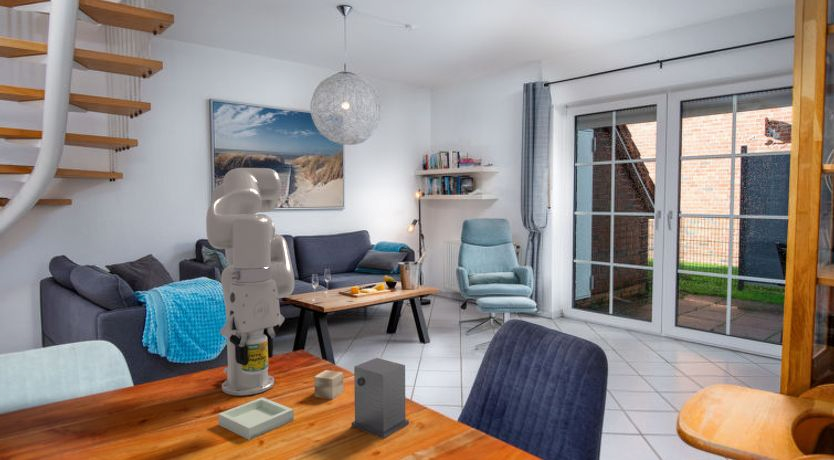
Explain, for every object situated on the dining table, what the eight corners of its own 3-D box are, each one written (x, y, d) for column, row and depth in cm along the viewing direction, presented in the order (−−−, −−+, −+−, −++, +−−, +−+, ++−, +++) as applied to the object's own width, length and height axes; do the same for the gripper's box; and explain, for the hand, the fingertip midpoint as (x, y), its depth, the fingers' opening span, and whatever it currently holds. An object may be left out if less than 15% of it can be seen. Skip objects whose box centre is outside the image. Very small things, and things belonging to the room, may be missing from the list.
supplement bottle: (264, 364, 111) (263, 321, 111) (271, 371, 107) (270, 327, 106) (238, 369, 108) (237, 325, 108) (245, 377, 104) (244, 330, 103)
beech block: (314, 396, 122) (314, 376, 122) (326, 389, 127) (325, 369, 127) (332, 400, 120) (332, 379, 120) (343, 392, 125) (343, 372, 125)
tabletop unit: (351, 426, 107) (350, 366, 106) (377, 413, 113) (376, 356, 112) (383, 438, 101) (383, 375, 100) (408, 424, 108) (408, 365, 107)
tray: (218, 424, 107) (218, 413, 107) (262, 407, 116) (262, 397, 116) (249, 440, 101) (249, 428, 101) (293, 420, 110) (293, 409, 109)
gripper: (225, 282, 97) (228, 375, 98) (296, 271, 111) (298, 353, 112) (204, 279, 102) (207, 367, 103) (275, 268, 115) (277, 347, 116)
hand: (254, 359), depth 107 cm, fingers closed on supplement bottle, 5 cm apart
